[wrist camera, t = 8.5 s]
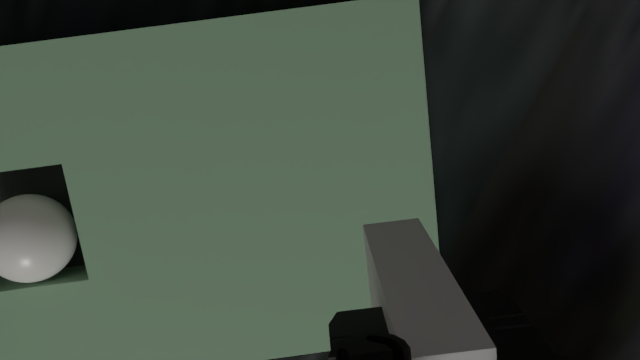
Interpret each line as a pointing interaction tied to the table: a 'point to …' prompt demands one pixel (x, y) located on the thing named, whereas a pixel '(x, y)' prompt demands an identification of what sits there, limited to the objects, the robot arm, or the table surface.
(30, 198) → the ball
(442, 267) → the robot arm
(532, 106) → the table surface
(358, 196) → the putting mat
